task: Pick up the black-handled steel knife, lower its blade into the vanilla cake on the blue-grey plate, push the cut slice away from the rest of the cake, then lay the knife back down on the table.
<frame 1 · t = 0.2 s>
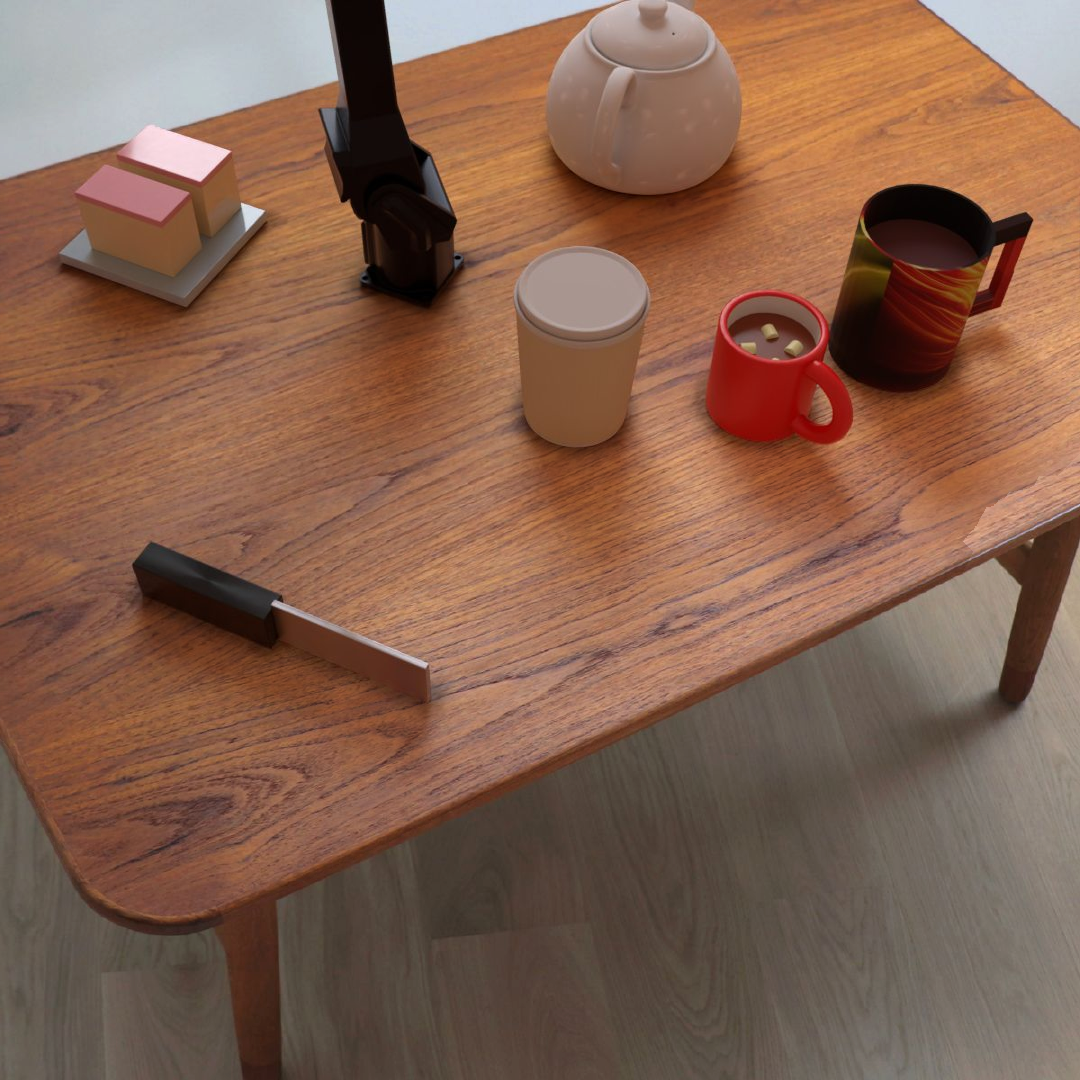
cake plate: (166, 241, 112), on the table
mug 2: (777, 419, 102), on the table
coffee cup: (574, 411, 102), on the table
cake slice: (146, 248, 110), point 1 cm above the table, touching cake plate
knife: (293, 643, 88), on the table
mug: (902, 335, 108), on the table
teapot: (638, 147, 122), on the table
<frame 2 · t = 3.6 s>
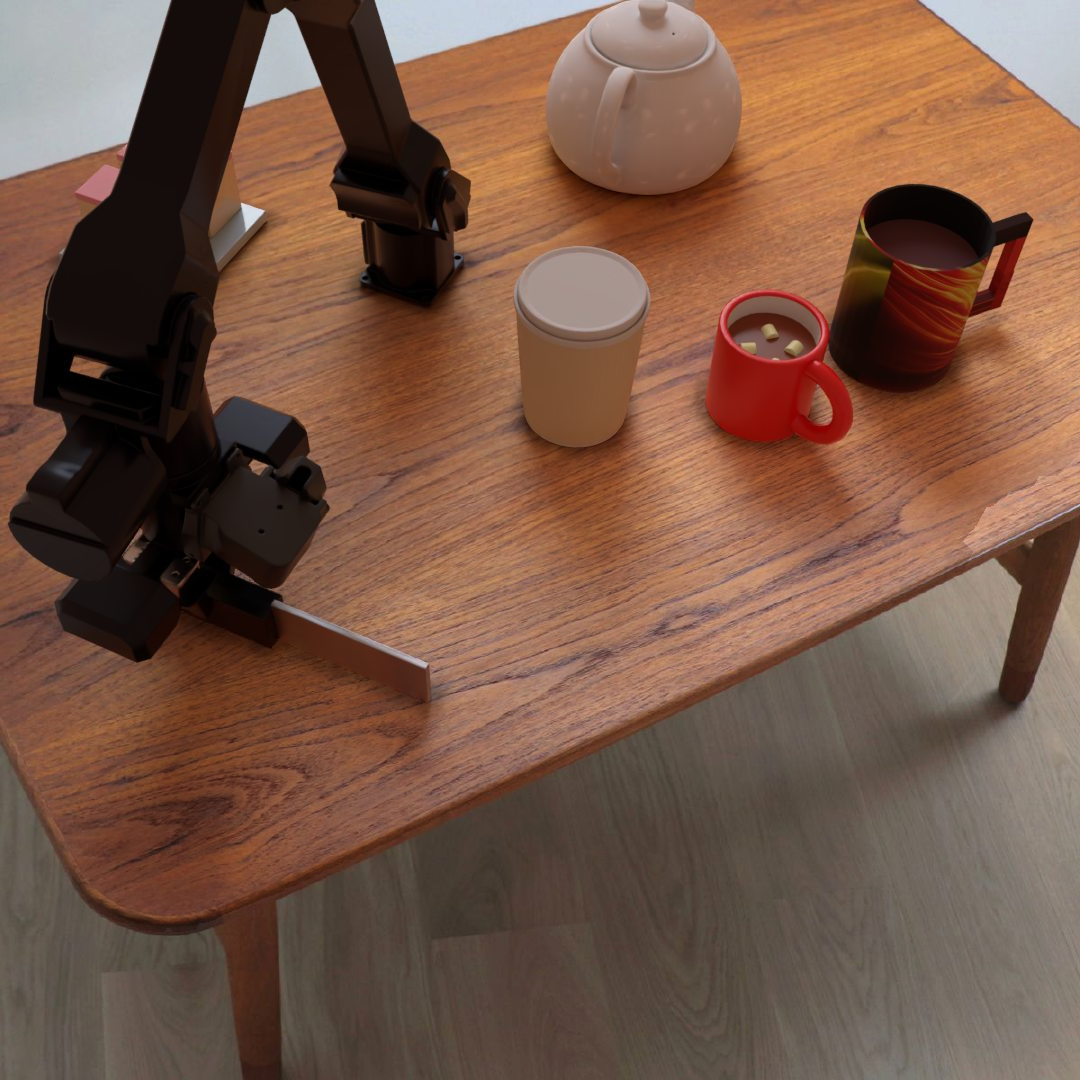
hand: (212, 601, 89), 1 cm above the table, tool pointing down, fingers closed on knife, 2 cm apart
knife: (293, 642, 88), on the table, touching gripper
everything else where it was.
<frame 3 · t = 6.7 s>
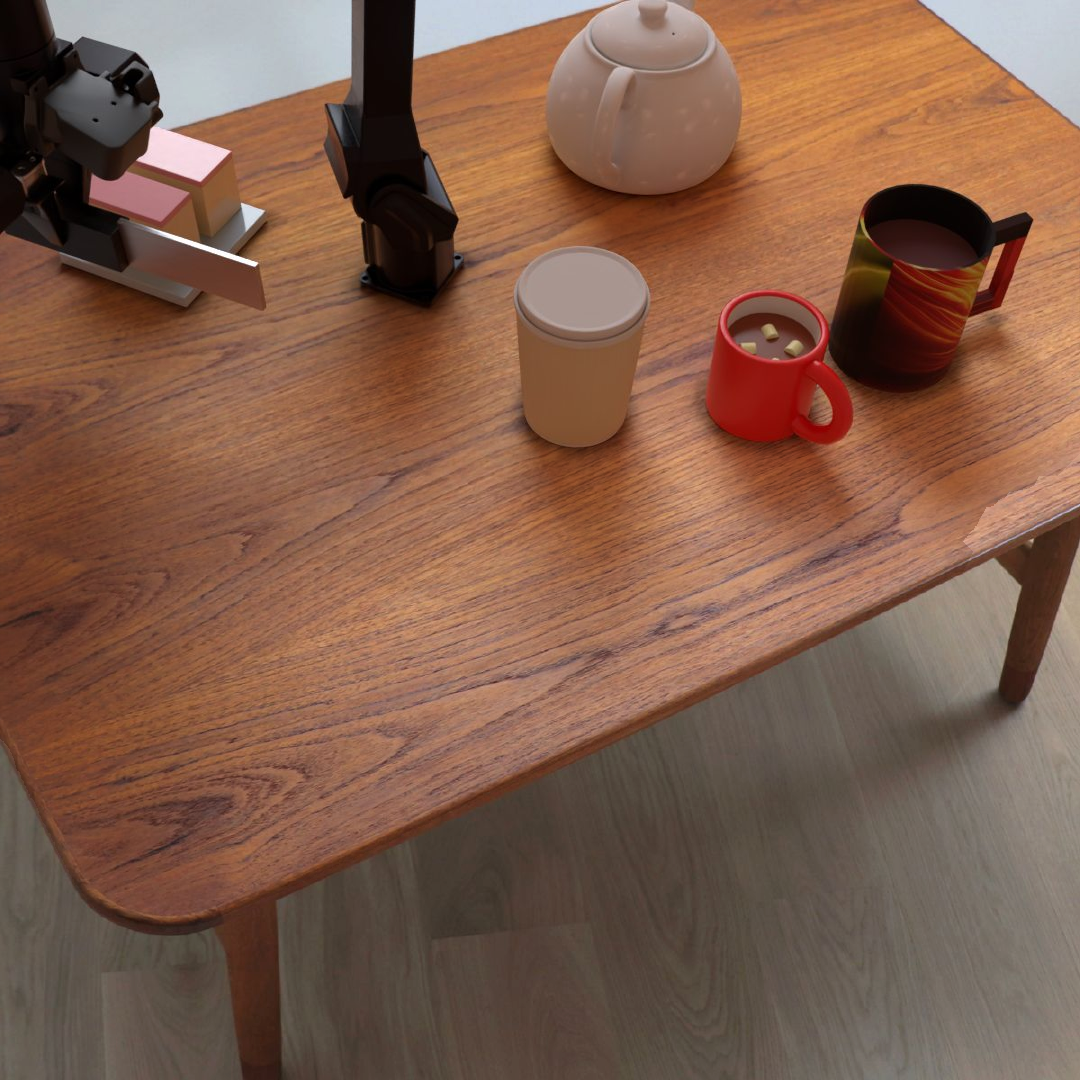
hand: (68, 233, 97), 10 cm above the table, tool pointing down, fingers closed on knife, 2 cm apart
knife: (142, 268, 97), point 9 cm above the table, touching gripper
everything else where it was.
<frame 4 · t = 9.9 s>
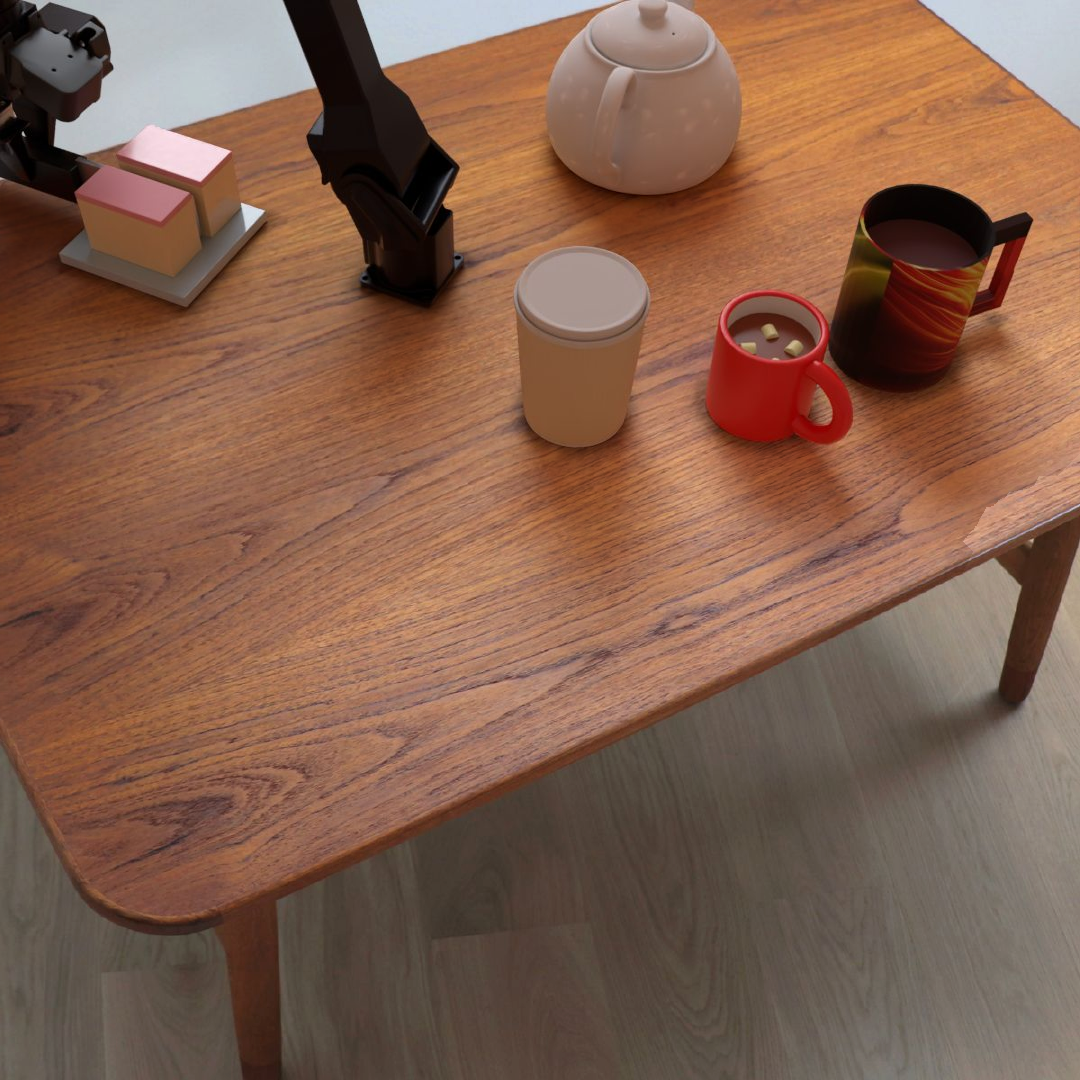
hand: (36, 171, 113), 2 cm above the table, tool pointing down, fingers closed on knife, 2 cm apart
knife: (98, 201, 113), point 1 cm above the table, touching gripper
everything else where it was.
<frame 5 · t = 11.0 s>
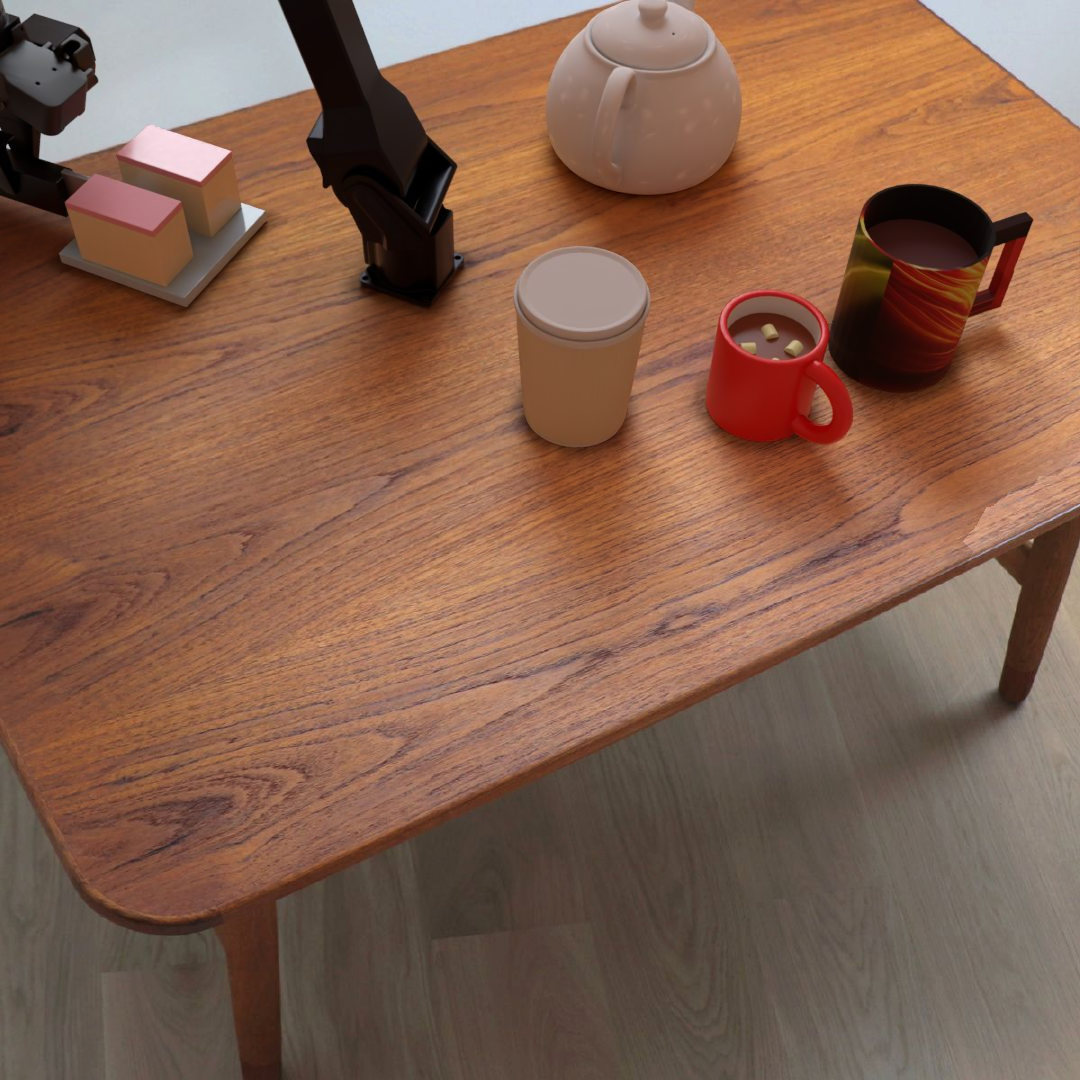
hand: (21, 184, 112), 2 cm above the table, tool pointing down, fingers closed on knife, 2 cm apart
cake slice: (138, 258, 109), point 1 cm above the table, touching cake plate, knife
knife: (85, 213, 112), point 2 cm above the table, touching cake slice, gripper
everything else where it was.
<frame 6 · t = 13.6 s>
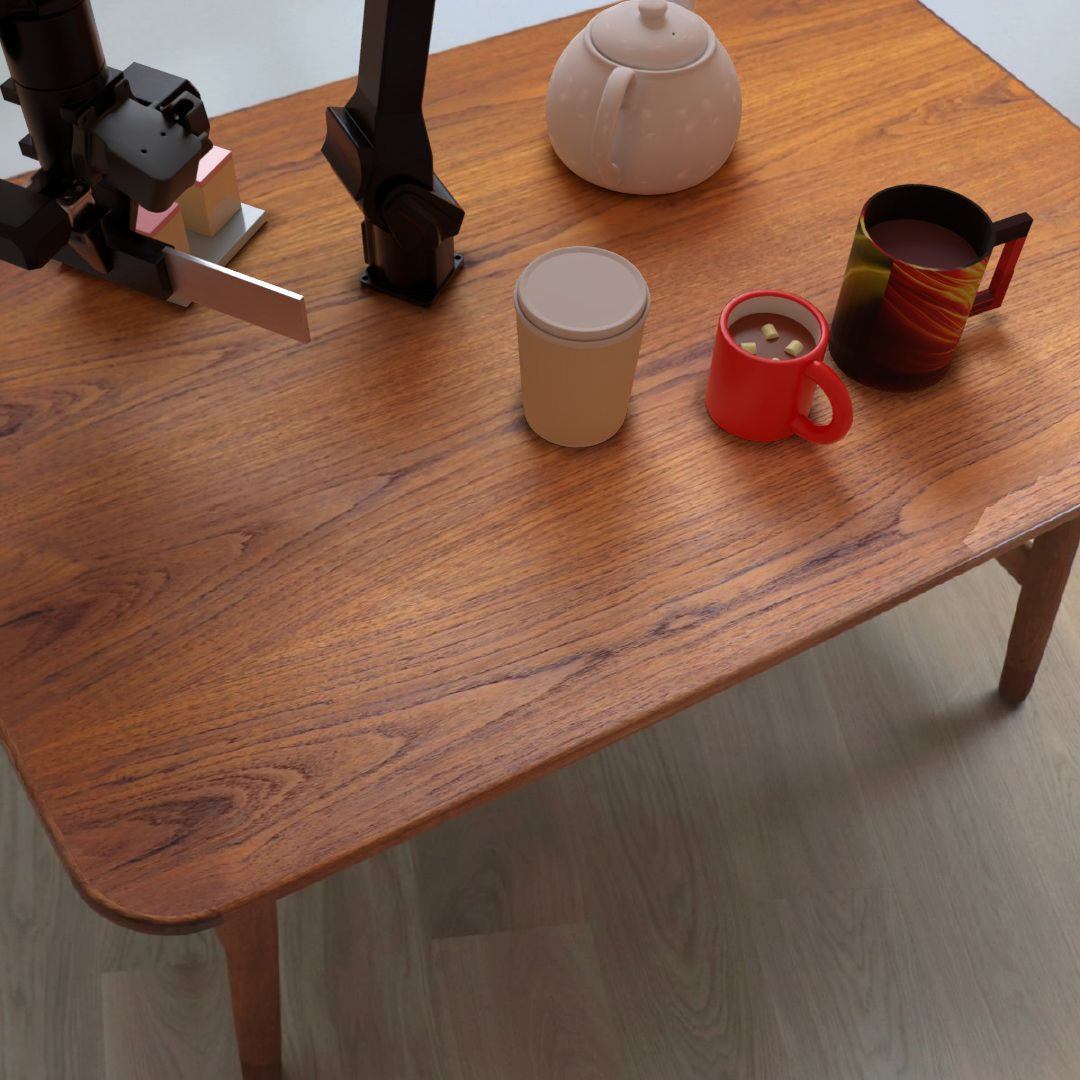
hand: (114, 260, 96), 10 cm above the table, tool pointing down, fingers closed on knife, 2 cm apart
cake slice: (136, 259, 109), point 1 cm above the table, touching cake plate
knife: (186, 297, 95), point 9 cm above the table, touching gripper
everything else where it was.
when the fingers open (1 cm above the table, at t = 16.1 s): knife stays where it is, on the table.
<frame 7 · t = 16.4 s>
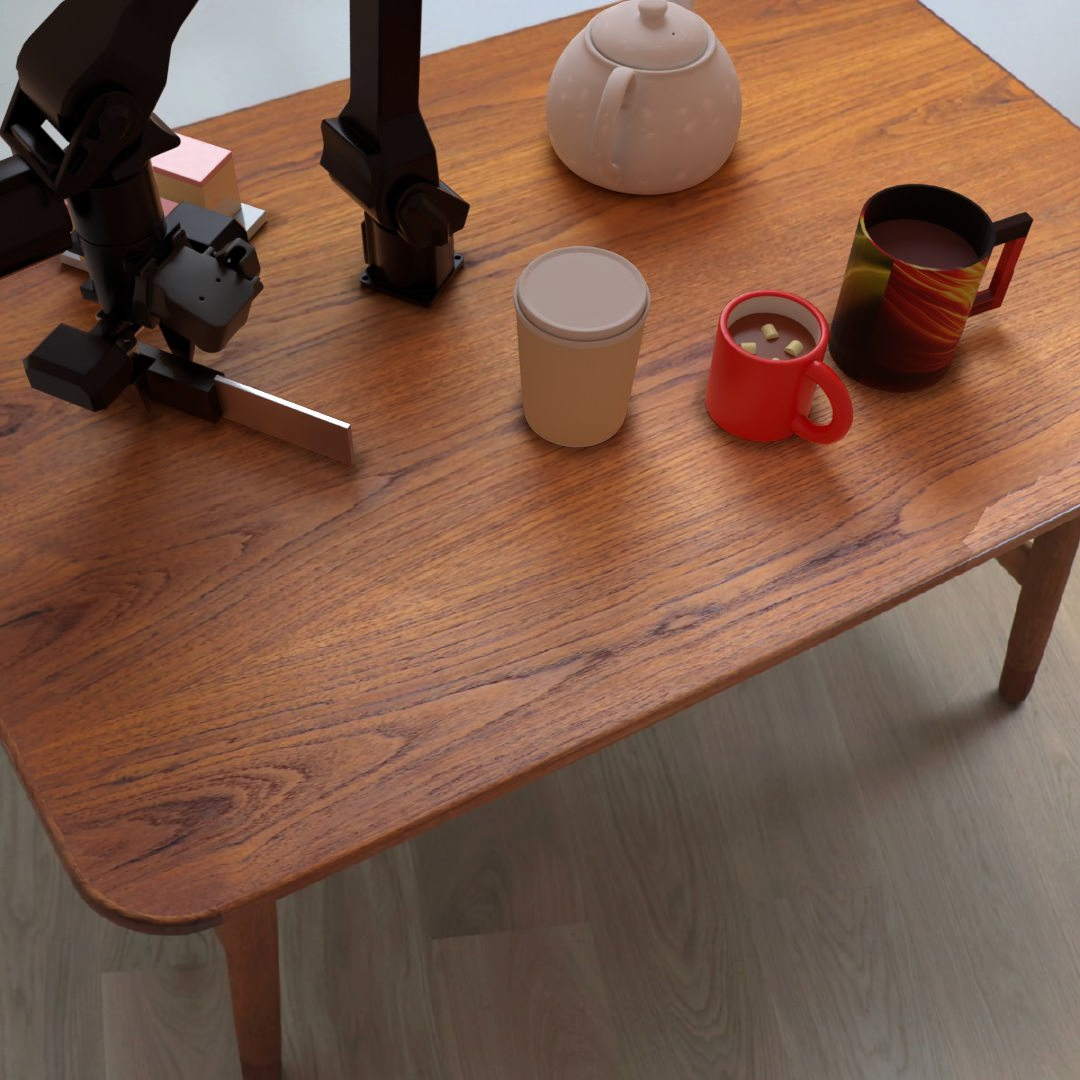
hand: (165, 386, 101), 1 cm above the table, tool pointing down, fingers open, 5 cm apart
knife: (235, 419, 100), on the table
everything else where it was.
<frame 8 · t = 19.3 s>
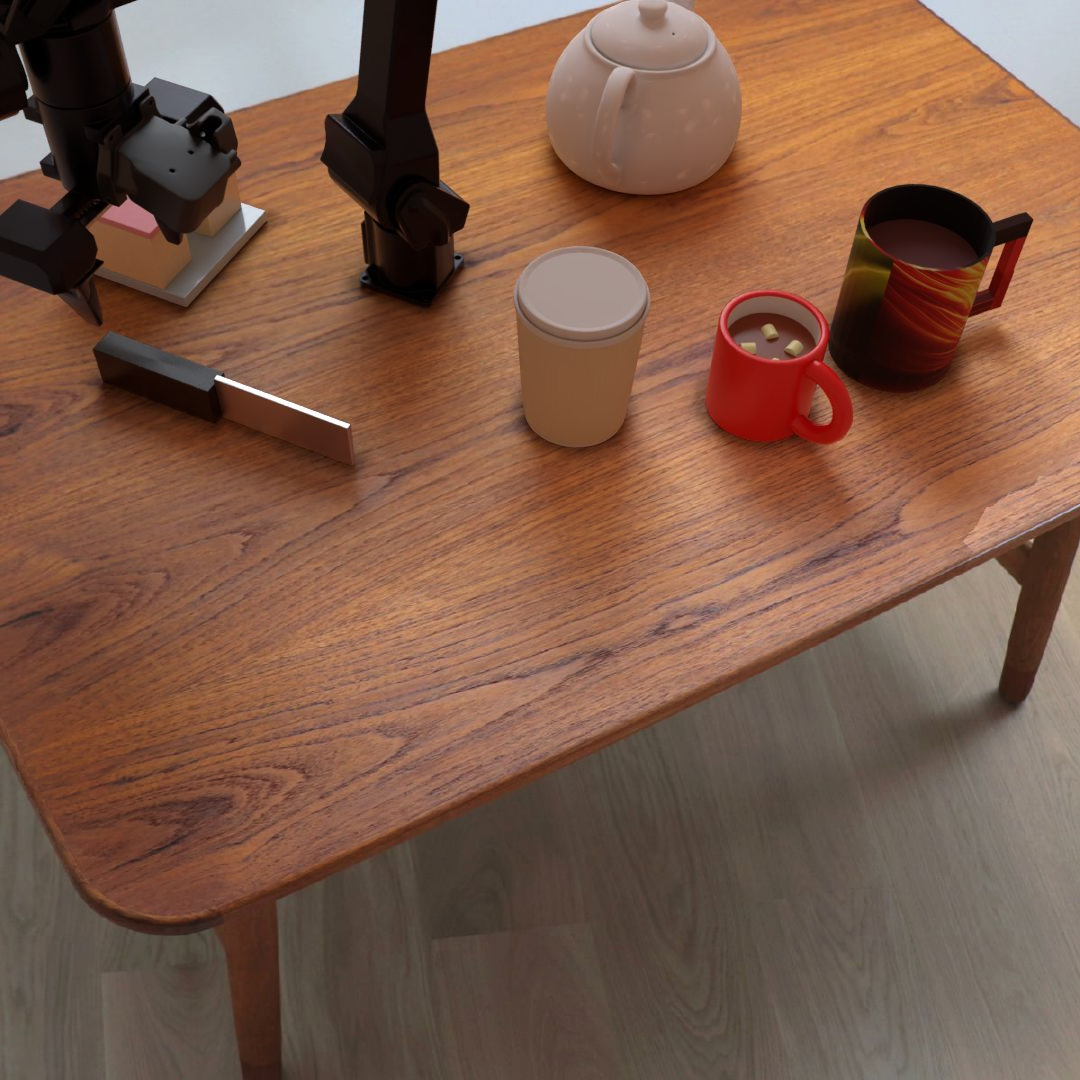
hand: (136, 282, 93), 11 cm above the table, tool pointing down, fingers open, 9 cm apart
nothing on the table moved.
at the end: cake slice moved 1.5 cm from its start; cake slice 0.1 cm from the target spot on the cake plate, point 1.0 cm above the cake plate's base; the gripper is holding nothing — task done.
